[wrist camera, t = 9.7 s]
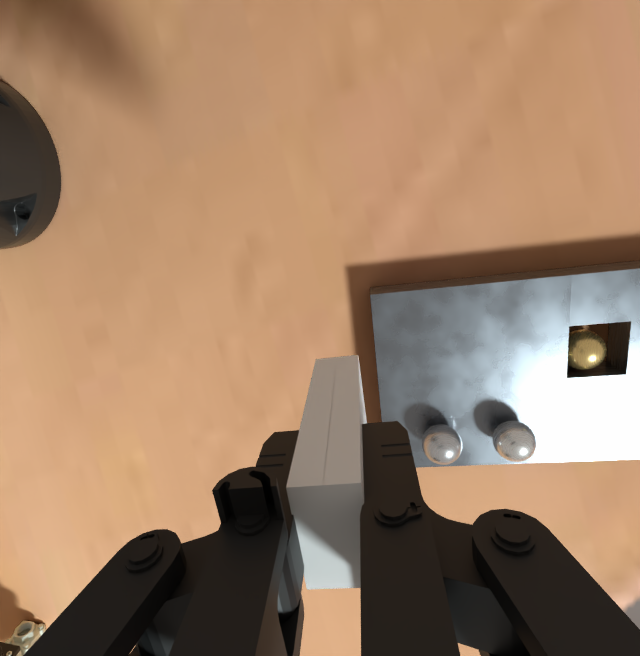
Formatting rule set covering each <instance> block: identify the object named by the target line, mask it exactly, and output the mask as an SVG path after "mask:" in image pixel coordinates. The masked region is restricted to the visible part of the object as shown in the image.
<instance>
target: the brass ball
mask: <svg viewBox="0 0 640 656" xmlns="http://www.w3.org/2000/svg"><path fill="white" fill-rule="evenodd" d="M606 352H607V349H606V344H605V342H604V340H603V339H602V338H601V337H600V336H599V335H598V334H596V333H595V332H592V331H589V330H575V331H572V332H570V333H569V341H568V361H567V364H568V365H569V366H571V367H573V368H576V369H591V368H594V367H596V366H598V365H599V364H600V363H601V362H602V361H603V360H604V358H605V356H606Z"/></svg>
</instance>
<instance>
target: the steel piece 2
mask: <svg viewBox="0 0 640 656" xmlns="http://www.w3.org/2000/svg"><path fill="white" fill-rule="evenodd" d="M492 439H493V445H494V448H495V449H496V451H497V452H498V454H499V455H500V456H502V457H503V458H505V459H507V460H509V461H513V462H521V461H525V460H527V459H529V458H530V457H531V456H532V455H533V454H534V452H535V450H536V446H537V441H536V437H535V434H534V433H533V431H532V430H531V429H530V428H529V427H528V426H527V425H526V424H524V423H522V422H519V421H513V420H511V421H506V422H503V423H501V424H500V425H498V426H497V427H496V429H495V430H494V433H493V438H492Z"/></svg>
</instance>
